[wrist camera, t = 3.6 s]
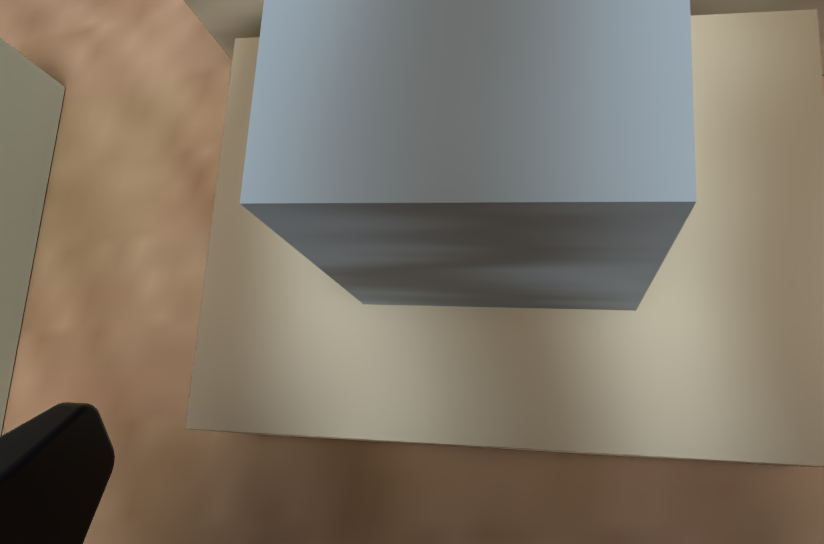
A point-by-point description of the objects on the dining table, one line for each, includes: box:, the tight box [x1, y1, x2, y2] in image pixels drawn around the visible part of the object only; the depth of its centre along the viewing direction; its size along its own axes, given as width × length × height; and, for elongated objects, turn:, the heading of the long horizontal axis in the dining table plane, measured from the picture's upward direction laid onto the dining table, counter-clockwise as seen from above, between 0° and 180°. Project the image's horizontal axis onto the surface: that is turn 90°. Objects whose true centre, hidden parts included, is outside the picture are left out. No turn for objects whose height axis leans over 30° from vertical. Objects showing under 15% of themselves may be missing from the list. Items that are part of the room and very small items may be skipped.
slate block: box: [240, 0, 697, 311], centre depth 13 cm, size 6×4×7 cm, turn 87°
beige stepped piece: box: [184, 0, 824, 467], centre depth 16 cm, size 22×13×9 cm, turn 87°
